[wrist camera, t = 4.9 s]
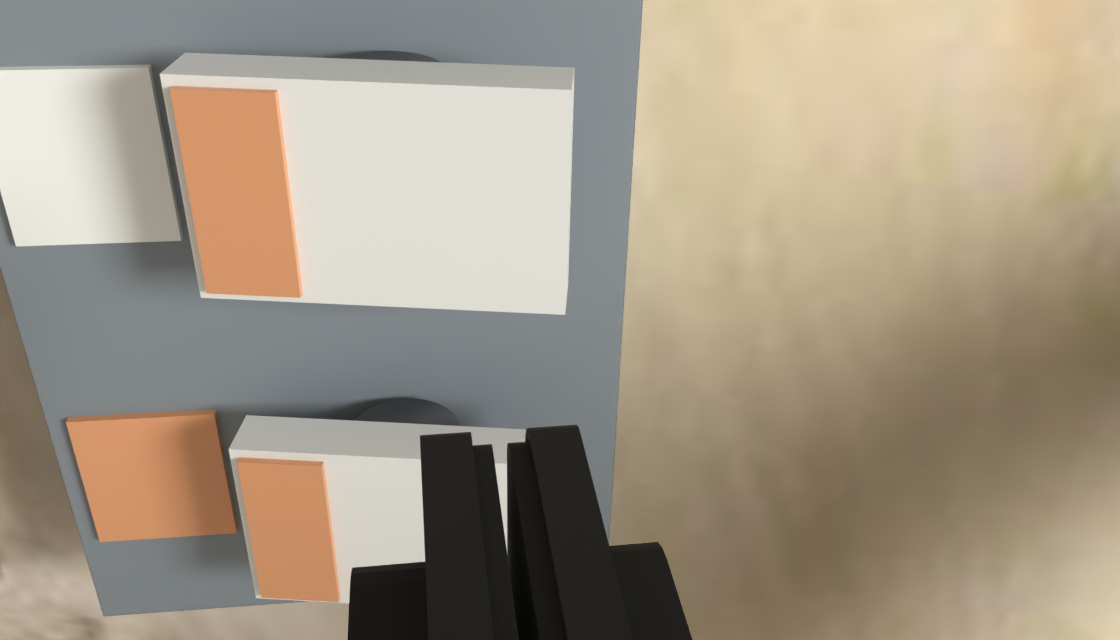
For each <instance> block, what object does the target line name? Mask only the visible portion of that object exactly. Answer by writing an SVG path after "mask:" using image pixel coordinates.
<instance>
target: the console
mask: <svg viewBox="0 0 1120 640" xmlns="http://www.w3.org/2000/svg"><path fill="white" fill-rule="evenodd" d="M642 5H643V0H0V268H1V271H2V274H3V278H4V281H5V285H6V288H7V291H8V295H9V298H10V302H11V305H12V308H13V312H14V315H15V318H16V322H17V325H18V329H19V332H20V335H21V339H22V342H23V345H24V349H25V352H26V356H27V359H28V362H29V366H30V369H31V373H32V376H33V379H34V383H35V386H36V389H37V393H38V396H39V400H40V403H41V406H42V410H43V413H44V417H45V420H46V423H47V427H48V430H49V433H50V437H51V440H52V444H53V447H54V450H55V454H56V457H57V460H58V464H59V467H60V471H61V474H62V477H63V481H64V484H65V488H66V491H67V494H68V498H69V501H70V504H71V508H72V511H73V515H74V518H75V521H76V525H77V528H78V531H79V535H80V538H81V542H82V545H83V548H84V552H85V555H86V559H87V562H88V565H89V569H90V572H91V575H92V579H93V582H94V586H95V589H96V592H97V596H98V599H99V602H100V606H101V609H102V613H103V616H115V615H129V614H142V613H156V612H169V611H183V610H197V609H210V608H224V607H237V606H251V605H265V604H278V603H292V602H305V601H295V600H278V599H260V598H256V595H255V590H254V584H253V579H252V574H251V568H250V563H249V557H248V552H247V546H246V541H245V536H244V530H243V525H242V519H241V514H240V508H239V503H238V498H237V492H236V487H235V481H234V476H233V470H232V465H231V460H230V454H229V448H230V446H231V444H232V442H233V440H234V438H235V436H236V434H237V432H238V430H239V428H240V426H241V424H242V423H243V421H244V419H245V417H246V415H254V416H273V417H293V418H313V419H332V420H352V421H355V419H356V418H357V417H358V416H359V415H360V414H362V413H363V412H364V411H366V410H367V409H369V408H371V407H373V406H375V405H377V404H380V403H383V402H386V401H391V400H396V399H406V398H414V399H423V400H428V401H432V402H435V403H438V404H440V405H442V406H444V407H446V408H447V409H449V410H450V411H451V412H452V413H453V414H454V415H455V416H456V418H457V420H458V423H459V426H470V427H490V428H510V429H527V428H535V427H550V426H564V425H577V426H578V427H579V430H580V433H581V437H582V441H583V445H584V449H585V453H586V457H587V461H588V464H589V468H590V472H591V476H592V480H593V484H594V488H595V492H596V496H597V500H598V504H599V508H600V511H601V515H602V519H603V523H604V527H605V531H606V535H607V539H608V543H609V532H610V516H611V500H612V484H613V468H614V452H615V436H616V420H617V404H618V388H619V372H620V356H621V340H622V324H623V308H624V292H625V276H626V260H627V245H628V229H629V213H630V197H631V181H632V165H633V149H634V133H635V117H636V101H637V85H638V69H639V53H640V37H641V21H642ZM366 51H402V52H411V53H417V54H422V55H426V56H429V57H432V58H434V59H437V60H439V61H440V62H444V63H470V64H496V65H522V66H548V67H574V68H575V73H574V106H573V140H572V174H571V207H570V241H569V274H568V291H567V301H566V312H565V315H557V314H536V313H515V312H493V311H472V310H451V309H429V308H408V307H387V306H365V305H344V304H323V303H301V302H280V301H259V300H237V299H216V298H201V296H200V291H199V285H198V280H197V275H196V269H195V264H194V258H193V253H192V247H191V242H190V237H189V231H188V226H187V220H186V215H185V209H184V204H183V198H182V193H181V188H180V182H179V177H178V171H177V166H176V160H175V155H174V150H173V144H172V139H171V133H170V128H169V122H168V117H167V112H166V106H165V101H164V95H163V90H162V84H161V79H160V73H161V72H162V71H164V70H165V69H166V68H167V67H168V66H170V65H171V64H172V63H173V62H174V61H176V60H177V59H178V58H179V57H180V56H182V55H183V54H184V53H211V54H237V55H263V56H288V57H314V58H333V57H336V56H340V55H345V54H350V53H357V52H366Z"/></svg>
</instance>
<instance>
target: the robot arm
mask: <svg viewBox="0 0 1120 640" xmlns="http://www.w3.org/2000/svg"><path fill="white" fill-rule="evenodd" d="M420 452H421V475H422V499H423V522H424V545H425V562H414V563H402V564H390V565H378V566H366V567H354V568H352V571H351V579H350V599H349V623H348V640H692V638H691V634H690V631H689V628H688V625H687V622H686V619H685V615H684V612H683V609H682V606H681V603H680V600H679V596H678V593H677V590H676V587H675V584H674V581H673V578H672V574H671V571H670V568H669V565H668V562H667V559H666V556H665V554H664V551H663V549H662V547H661V546H660V544H659V543H658V542H654V543H642V544H630V545H618V546H609V543H608V539H607V535H606V531H605V527H604V523H603V519H602V515H601V511H600V508H599V504H598V500H597V496H596V492H595V488H594V484H593V480H592V476H591V472H590V468H589V464H588V461H587V457H586V453H585V449H584V445H583V441H582V437H581V433H580V430H579V427H578V426H577V425H564V426H550V427H535V428H527V429H526V434H525V442H515V443H508V444H507V549H506V542H505V534H504V527H503V520H502V512H501V505H500V498H499V490H498V483H497V476H496V469H495V461H494V454H493V447H492V444H486V445H473V444H472V436H471V432H461V433H446V434H431V435H420Z"/></svg>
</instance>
